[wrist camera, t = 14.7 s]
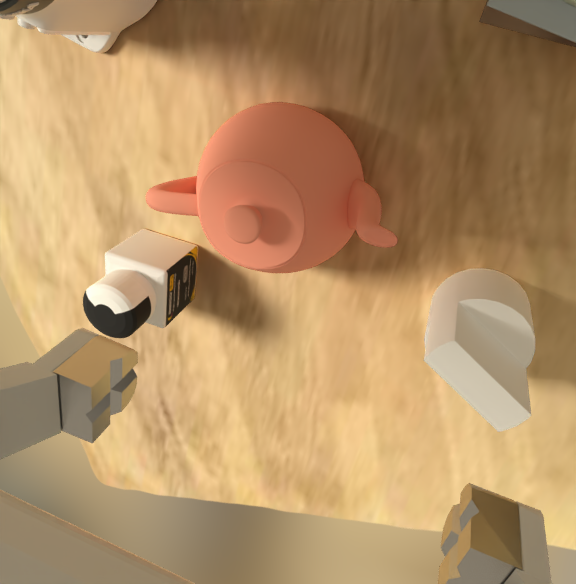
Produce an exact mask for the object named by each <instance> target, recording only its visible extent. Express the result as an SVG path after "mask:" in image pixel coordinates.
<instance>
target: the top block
mask: <svg viewBox="0 0 576 584" xmlns="http://www.w3.org/2000/svg"><path fill="white" fill-rule="evenodd" d="M487 6H488V7H491V8H493V9H496V10H498V11H500V12H503V13H505V14H508V15H510V16H512V17H515V18H517V19H519V20H522V21H524V22H527V23H529V24H531V25H534V26H536V27H539V28H541V29H543V30H546V31H548V32H551V33H553V34H555V35H558V36H560V37H563V38H565V39H567V40H570V41H572V42H575V43H576V7H575V6H571V5H569V4H567V3H565V2H564V1H562V0H489V2H488V4H487Z"/></svg>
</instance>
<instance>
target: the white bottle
mask: <svg viewBox="0 0 576 584" xmlns="http://www.w3.org/2000/svg"><path fill="white" fill-rule="evenodd" d="M197 258H198V246H197V245H195V244H191V243H188V242H185V241H182V240H179V239H175V238H172V237H169V236H166V235H163V234H159V233H156V232H153V231H150V230H147V229H141V230H140V231H138V232H137V233H135V234H134V235H132V236H131V237H129V238H127V239H126V240H124V241H123V242H121V243H120V244H118V245H117V246H115V247H113V248H112V249H110V250H109V251H107V252H106V253H105V270H106V276H104V277H103V278H102V279H100V280H99V281H97V282H96V283H94V284H93V285H92V286H90V287H89V288H88V289H87V290H86V292H85V294H84V297H83V306H84V311H85V314H86V316H87V318H88V319H89V321H90V322H91V323H92V325H93V326H94V327H95V328H96V329H98V330H99V331H100V332H102V333H103V334H105V335H107V336H110V337H114V338H125V337H128V336H130V335H132V334H133V333H134V332H135V331H136V330H137V329H138V328H139V327H140V326H141V325H143V324H144V323H145V322H146V323H149V324H152V325H155V326H157V327H160V328H164V327H166V326H167V325H168V324H169V323H170V322H171V321H172V320H173V319H174V318H175V317H176V316H177V315H178V314H179V313H180V312H181V311H182V310H183V309H184V308H185V307H186V306H187V305H188V304H189V303H190V302H191V301H192V300H193V299H194V297H195V286H196V272H197Z"/></svg>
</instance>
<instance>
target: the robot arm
mask: <svg viewBox="0 0 576 584" xmlns="http://www.w3.org/2000/svg"><path fill="white" fill-rule="evenodd" d="M156 2H157V0H0V18H2V19H9V20H11V19H14V17H15V16H17V17H18V25H19V26H21V27H24V28H27V29H35V28H36V27H37V28H38V30H39V32H41V33H44V34H58V35H62V36H64V37H66V38H68V39H70V40H72V41H73V42H75V43H77V44H79V45H81V46H83V47H85V48H87V49H89V50H90V51H93V52H99V53H104V52H106V51H108V50H109V49H110V48H111V46H112V45H113V44H114V42H115V40H116V39H117V37H118V35H119V34H120V32H121V31H122V30H123V29H125V28H126V27H128V26H130V25H132V24H133V23H135V22H137V21H138V20H140V19H141V18H143V17H144V16H145V15H146V14H147V13H148V12H149V11H150V10H151V9H152V7H153V6H154V5H155V3H156ZM86 35H88V37H87V36H86ZM137 363H138V352H137V351H135V350H134V349H132V348H129V347H127V346H125V345H122V344H120V343H118V342H115V341H113V340H111V339H108V338H106V337H104V336H101V335H98V334H96V333H93V332H91V331H89V330H86V329H84V328H82V329H78V330H76V331H74V332H73V333H72V334H71V335H69V336H68V337H67V338H65V339H64V340H63V341H62V342H60V343H59V344H58V345H56V346H55V347H54V348H53V349H51V350H50V351H49V352H47V353H46V354H45V355H44V356H42V357H41V358H40V359H38V360H37V361H36V362H35V363H33V364H31V363H29V362H25V363H21V364H17V365H13V366H9V367H6V368H1V369H0V459H3V458H5V457H7V456H9V455H12V454H14V453H16V452H18V451H21V450H23V449H25V448H27V447H30V446H32V445H34V444H36V443H39V442H41V441H43V440H45V439H48V438H50V437H52V436H54V435H57V434H59V433H61V431H64V432H66V433H69V434H71V435H73V436H76V437H78V438H81V439H83V440H86V441H88V442H91V443H93V442H94V441H95V440H96V439H97V438H98V437H99V436H100V435H101V433H102V432H103V431H104V430H105V429H106V428H107V427H108V426H109V425H110V415H113V414H116V413H119V412H121V411H122V410H123V409H124V408H125V407H126V406H127V405H128V403H129V402H130V400H131V398H132V396H133V394H134V392H135V388H136V385H137V375H136V373H135V372H134V370H133V367H134V366H135V365H136V364H137ZM441 549H442V551H443V553H444V555H445V558H444V560H443V562H442V563H441V565H440V566H439V575H438V584H552V583H551V575H550V567H549V558H548V551H547V542H546V534H545V526H544V518H543V514H542V513H541V511H540V510H537V509H535V508H532V507H530V506H527V505H524V504H522V503H519V502H517V501H516V502H515V501H514V500H512V499H509V498H506V497H504V496H501V495H499V494H496V493H494V492H491V491H488V490H486V489H483V488H481V487H478V486H476V485H473V484H470V483H469V484H467V485H466V486H465V487H464V489H463V491H462V492H461V497H460V504H457V505H454V506H453V507H452V509H451V511H450V512H449V514H448V516H447V519H446V522H445V525H444V528H443V533H442V541H441ZM0 584H195V583H193V582H191V581H189V580H187V579H185V578H183V577H181V576H179V575H177V574H174V573H172V572H170V571H168V570H166V569H164V568H162V567H160V566H158V565H156V564H154V563H152V562H150V561H148V560H145V559H143V558H141V557H139V556H137V555H135V554H133V553H131V552H129V551H126V550H124V549H123V548H120V547H118V546H116V545H114V544H112V543H110V542H108V541H106V540H104V539H102V538H100V537H98V536H96V535H94V534H91V533H89V532H87V531H85V530H83V529H81V528H79V527H77V526H75V525H73V524H71V523H69V522H66V521H64V520H62V519H60V518H58V517H56V516H54V515H52V514H50V513H48V512H46V511H44V510H42V509H40V508H38V507H35V506H33V505H31V504H29V503H27V502H25V501H23V500H21V499H19V498H17V497H15V496H13V495H11V494H8V493H6V492H4V491H2V490H0Z"/></svg>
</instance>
